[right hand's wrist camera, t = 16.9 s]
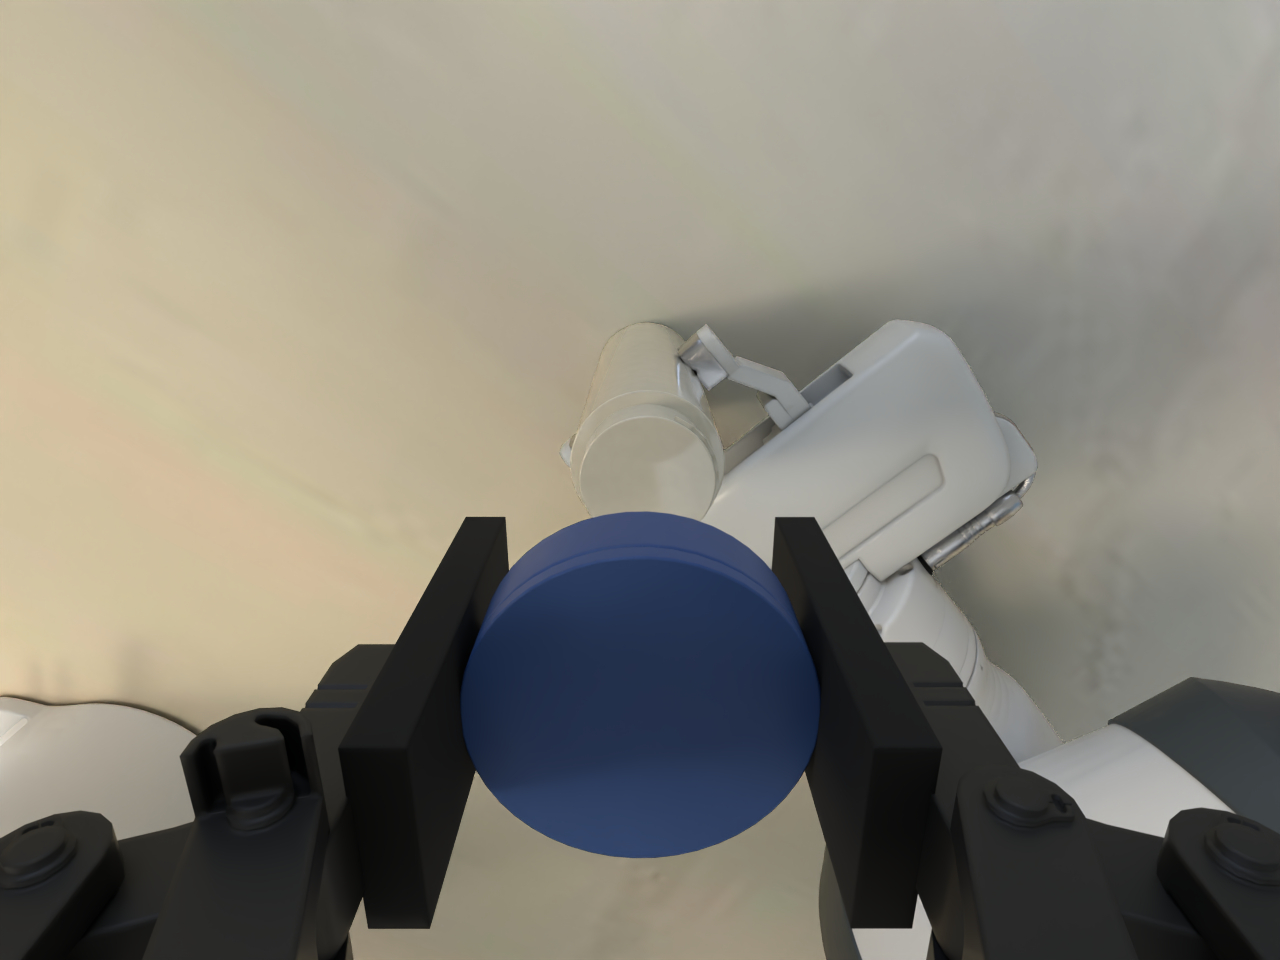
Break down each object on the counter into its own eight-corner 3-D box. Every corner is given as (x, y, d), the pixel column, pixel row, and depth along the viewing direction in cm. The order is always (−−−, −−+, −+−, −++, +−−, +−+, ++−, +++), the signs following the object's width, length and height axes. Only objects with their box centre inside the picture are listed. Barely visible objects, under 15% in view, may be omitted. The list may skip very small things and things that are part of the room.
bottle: (663, 435, 36) (676, 583, 22) (580, 388, 35) (536, 510, 21) (713, 353, 35) (762, 454, 20) (628, 303, 34) (615, 371, 20)
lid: (745, 463, 11) (761, 505, 10) (835, 733, 13) (861, 806, 11) (428, 570, 12) (396, 626, 10) (553, 815, 14) (542, 895, 12)
